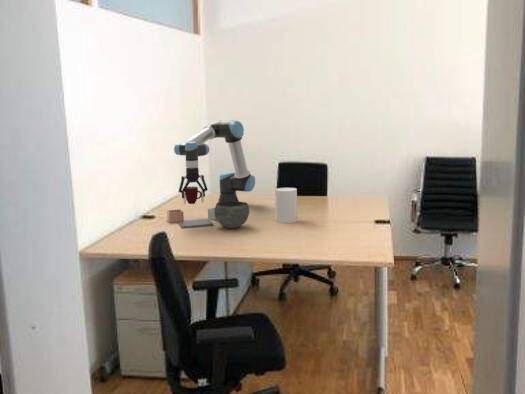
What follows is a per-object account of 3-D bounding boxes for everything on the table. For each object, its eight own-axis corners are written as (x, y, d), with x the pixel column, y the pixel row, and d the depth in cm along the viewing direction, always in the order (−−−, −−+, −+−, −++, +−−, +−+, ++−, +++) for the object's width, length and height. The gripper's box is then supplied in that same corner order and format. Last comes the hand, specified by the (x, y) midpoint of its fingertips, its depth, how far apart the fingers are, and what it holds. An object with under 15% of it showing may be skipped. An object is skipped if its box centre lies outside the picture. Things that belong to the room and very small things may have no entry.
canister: (283, 217, 376) (282, 187, 373) (301, 219, 369) (300, 188, 365) (271, 221, 366) (270, 190, 362) (289, 223, 358) (289, 191, 354)
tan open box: (181, 219, 377) (180, 209, 375) (183, 222, 368) (183, 211, 367) (167, 221, 374) (166, 210, 373) (169, 223, 365) (169, 213, 364)
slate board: (207, 220, 373) (207, 218, 373) (213, 225, 358) (213, 223, 358) (176, 223, 367) (176, 221, 367) (181, 228, 352) (181, 226, 352)
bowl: (242, 232, 339) (241, 207, 336) (209, 230, 346) (208, 205, 344) (254, 224, 358) (254, 200, 356) (223, 222, 366) (222, 199, 363)
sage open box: (218, 217, 381) (218, 207, 379) (225, 219, 374) (225, 208, 373) (208, 219, 376) (207, 208, 375) (215, 221, 370) (214, 210, 368)
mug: (198, 201, 366) (197, 185, 365) (204, 203, 360) (203, 187, 358) (183, 203, 361) (182, 187, 359) (188, 205, 354) (187, 189, 352)
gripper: (209, 165, 363) (210, 200, 367) (172, 167, 356) (174, 203, 360) (211, 166, 356) (213, 202, 360) (174, 169, 349) (176, 205, 353)
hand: (193, 202), depth 360 cm, fingers closed on mug, 10 cm apart
